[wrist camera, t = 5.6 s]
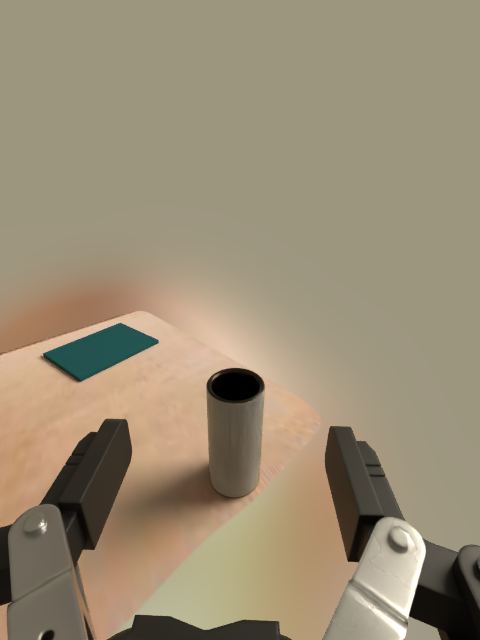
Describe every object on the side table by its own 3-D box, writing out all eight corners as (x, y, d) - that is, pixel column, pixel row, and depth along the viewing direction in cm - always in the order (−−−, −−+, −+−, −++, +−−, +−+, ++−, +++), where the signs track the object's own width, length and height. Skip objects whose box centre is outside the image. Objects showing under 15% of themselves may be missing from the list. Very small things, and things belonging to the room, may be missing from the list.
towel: (80, 381, 42) (79, 378, 42) (43, 356, 48) (42, 353, 48) (158, 342, 52) (158, 340, 52) (120, 325, 57) (120, 322, 57)
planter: (214, 503, 27) (211, 406, 23) (206, 460, 31) (202, 370, 27) (265, 492, 28) (272, 398, 24) (252, 452, 32) (255, 364, 28)
